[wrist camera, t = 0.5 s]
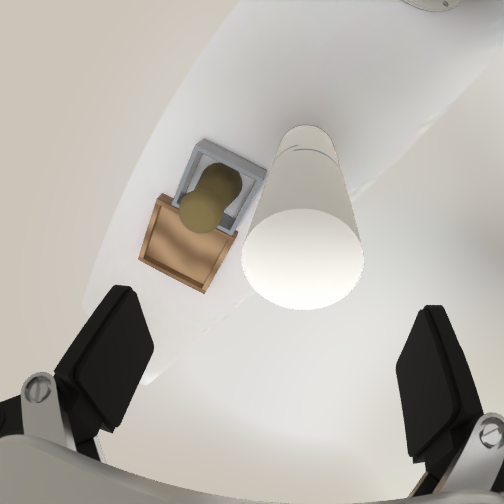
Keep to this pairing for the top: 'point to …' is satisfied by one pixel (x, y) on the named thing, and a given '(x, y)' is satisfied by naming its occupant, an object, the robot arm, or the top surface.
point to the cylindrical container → (303, 227)
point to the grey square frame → (230, 160)
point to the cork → (210, 198)
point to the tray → (183, 247)
